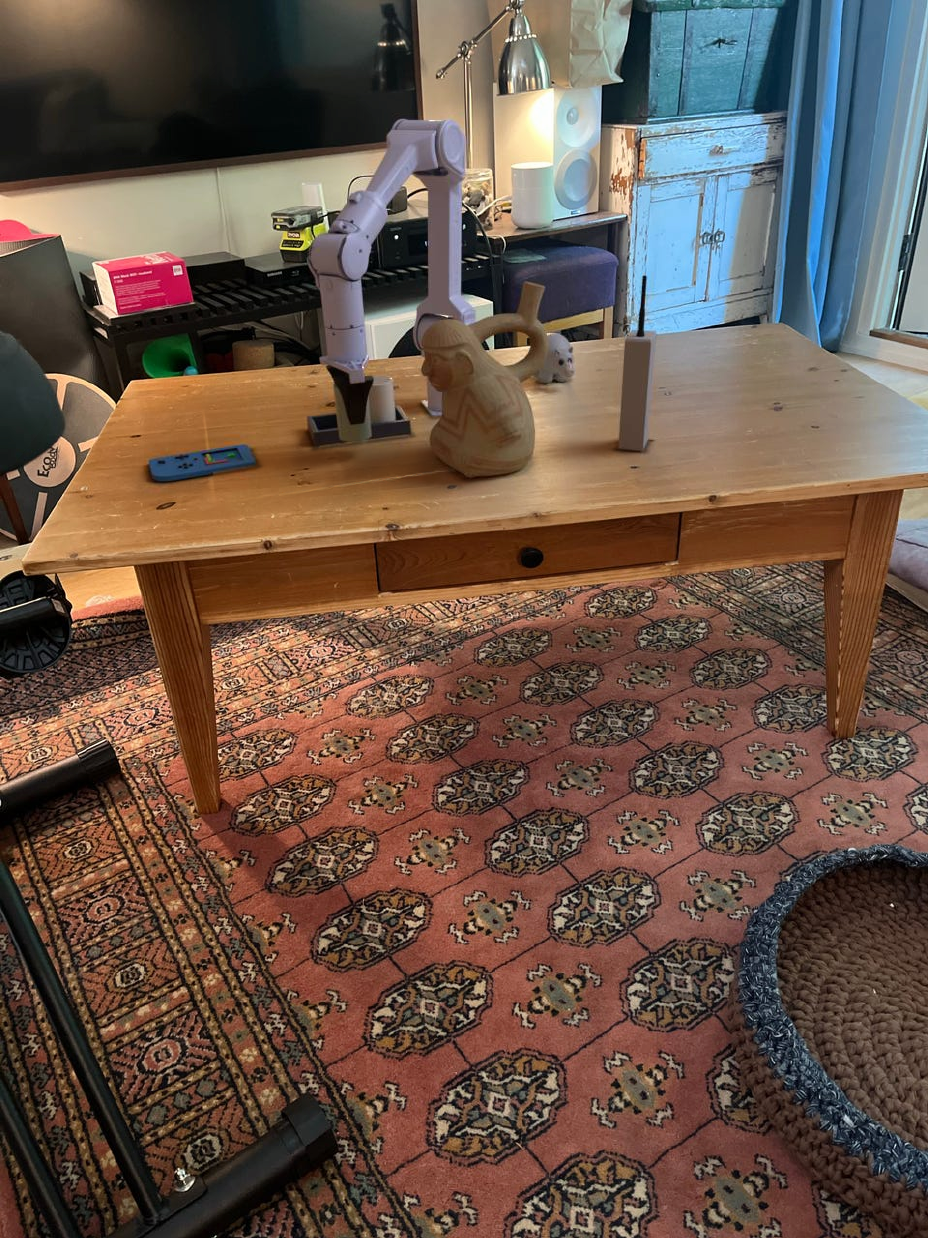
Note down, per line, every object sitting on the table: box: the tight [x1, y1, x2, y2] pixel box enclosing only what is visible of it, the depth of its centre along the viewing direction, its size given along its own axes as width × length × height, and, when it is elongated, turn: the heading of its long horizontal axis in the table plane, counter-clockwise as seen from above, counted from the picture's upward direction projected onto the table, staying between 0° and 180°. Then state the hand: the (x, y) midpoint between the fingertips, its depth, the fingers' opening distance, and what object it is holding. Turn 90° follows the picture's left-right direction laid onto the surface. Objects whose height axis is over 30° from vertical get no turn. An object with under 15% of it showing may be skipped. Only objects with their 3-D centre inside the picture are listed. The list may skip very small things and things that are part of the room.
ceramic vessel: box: [420, 281, 549, 479], centre depth 128 cm, size 17×20×25 cm
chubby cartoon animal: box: [532, 332, 576, 384], centre depth 163 cm, size 7×12×8 cm, turn 16°
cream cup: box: [368, 375, 396, 424], centre depth 145 cm, size 5×5×8 cm
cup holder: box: [306, 404, 412, 447], centre depth 146 cm, size 15×8×3 cm, turn 106°
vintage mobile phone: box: [618, 274, 657, 452], centre depth 132 cm, size 4×5×25 cm
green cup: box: [332, 382, 372, 443], centre depth 134 cm, size 5×5×8 cm
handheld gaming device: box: [148, 443, 257, 482], centre depth 137 cm, size 8×1×15 cm
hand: (353, 417), depth 135 cm, fingers closed on green cup, 5 cm apart
